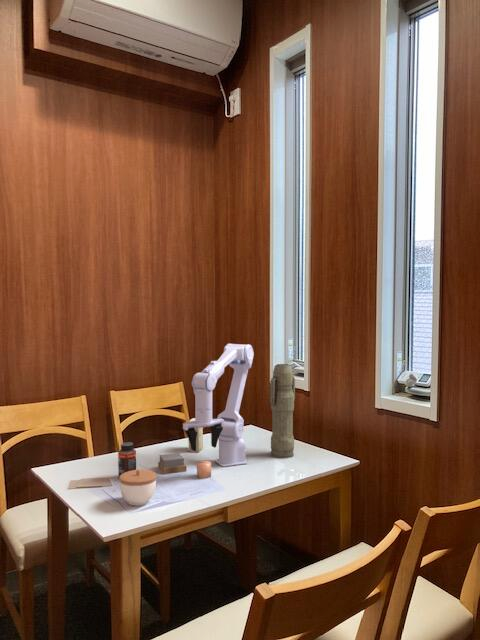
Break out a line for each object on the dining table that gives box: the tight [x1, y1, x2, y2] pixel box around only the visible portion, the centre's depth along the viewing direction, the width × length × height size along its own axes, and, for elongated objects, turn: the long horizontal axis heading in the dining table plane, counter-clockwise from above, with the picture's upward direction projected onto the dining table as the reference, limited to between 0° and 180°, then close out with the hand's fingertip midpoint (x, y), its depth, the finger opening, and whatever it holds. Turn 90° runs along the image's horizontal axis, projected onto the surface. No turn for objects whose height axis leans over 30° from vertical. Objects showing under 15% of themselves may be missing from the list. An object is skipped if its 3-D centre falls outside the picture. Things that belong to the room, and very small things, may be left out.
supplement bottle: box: [117, 442, 137, 478], centre depth 166 cm, size 6×6×11 cm
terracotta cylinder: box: [196, 460, 212, 480], centre depth 168 cm, size 5×5×4 cm
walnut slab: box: [157, 461, 187, 475], centre depth 175 cm, size 8×8×2 cm
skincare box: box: [187, 417, 204, 453], centre depth 198 cm, size 6×4×12 cm
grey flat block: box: [159, 452, 185, 468], centre depth 175 cm, size 7×7×2 cm
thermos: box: [269, 363, 296, 459], centre depth 192 cm, size 9×12×35 cm
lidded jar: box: [118, 468, 158, 506], centre depth 146 cm, size 11×11×9 cm
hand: (203, 448), depth 168 cm, fingers open, 7 cm apart
